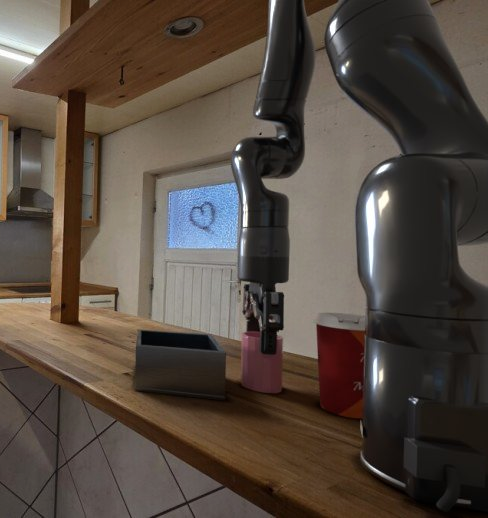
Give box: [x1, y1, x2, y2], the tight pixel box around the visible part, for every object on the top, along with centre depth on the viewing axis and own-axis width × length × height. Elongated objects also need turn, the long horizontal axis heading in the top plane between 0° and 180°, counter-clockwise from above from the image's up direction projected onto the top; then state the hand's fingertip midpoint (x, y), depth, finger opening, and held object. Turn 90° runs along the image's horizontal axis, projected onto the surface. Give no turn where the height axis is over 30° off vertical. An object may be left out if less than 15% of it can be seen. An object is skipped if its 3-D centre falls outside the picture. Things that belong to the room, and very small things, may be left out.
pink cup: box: [240, 331, 284, 394], centre depth 64 cm, size 6×6×9 cm
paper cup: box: [313, 312, 365, 420], centre depth 55 cm, size 8×8×14 cm
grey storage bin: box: [134, 329, 227, 402], centre depth 67 cm, size 14×14×8 cm
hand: (260, 347), depth 65 cm, fingers open, 8 cm apart
